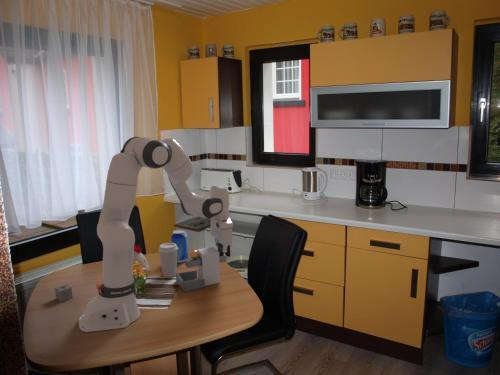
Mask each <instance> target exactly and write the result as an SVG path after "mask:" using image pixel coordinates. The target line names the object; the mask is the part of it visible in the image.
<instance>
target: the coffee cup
mask: <svg viewBox="0 0 500 375" xmlns="http://www.w3.org/2000/svg"><path fill="white" fill-rule="evenodd" d="M177 250H178V247H177V245H176V244H175V243H172V242H164V243H161V244H160V245H159V247H158V250H157V251H158V252H159V257H160V264H161V271H162V277H164V278H173V277H176V273H177V268H178V267H177V266H178V264H177V263H178V262H177Z"/></svg>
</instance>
